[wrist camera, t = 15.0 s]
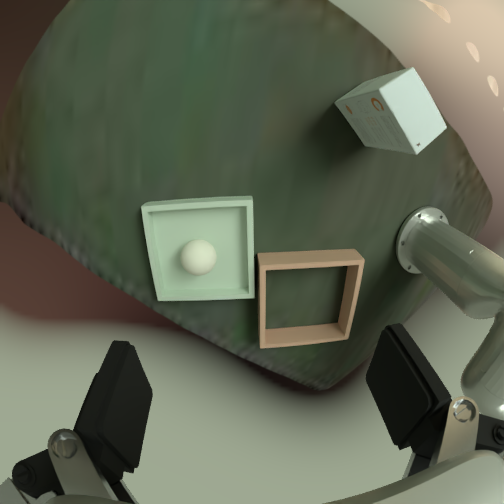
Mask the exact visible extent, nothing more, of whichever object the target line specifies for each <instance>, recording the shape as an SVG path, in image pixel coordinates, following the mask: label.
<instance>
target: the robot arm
mask: <svg viewBox="0 0 504 504" xmlns="http://www.w3.org/2000/svg"><path fill="white" fill-rule="evenodd" d="M396 256H397V259H398V261H399V263H400V265H401V266H402V267H403V268H404V269H405V270H406V271H408V272H410V273H415V274H418V273H422V274H424V275H425V276H426V277H427V278H428V279H429V280H430V281H431V282H432V283H433V284H434V285H436V286H437V287H438V288H439V289H440V290H441V291H442V292H443V293H444V294H445V295H446V296H447V297H448V298H449V299H450V300H451V301H452V302H453V303H454V304H455V305H456V306H457V307H459V308H460V310H461V311H462V312H463V313H464V314H466V315H467V316H469V317H471V318H474V319H487V318H492V317H495V320H494V323H493V325H492V327H491V329H490V330H489V333H488V334H487V336H486V338H485V339H484V341H483V342H482V344H481V345H480V347H479V348H478V350H477V351H476V353H475V354H474V356H473V357H472V359H471V360H470V361H469V363H468V364H467V366H466V368H465V369H464V371H463V373H462V376H461V388H462V391H463V393H464V395H465V396H460V397H457V398H455V399H454V400H453V401H452V399H451V395H450V394H449V392H448V390H447V389H446V387H445V386H444V384H443V383H442V381H441V380H440V378H439V376H438V375H437V373H436V372H435V371H434V369H433V368H432V366H431V365H430V363H429V362H428V360H427V359H426V357H425V356H424V355H423V353H422V352H421V350H420V349H419V347H418V346H417V345H416V343H415V342H414V340H413V339H412V338H411V336H410V335H409V333H408V332H407V331H406V329H405V328H404V327H403V325H402V324H400V323H398V324H393V325H388V326H386V327H385V329H384V330H383V331H382V332H381V335H380V338H379V341H378V344H377V347H376V350H375V352H374V356H373V358H372V361H371V363H370V366H369V369H368V371H367V374H366V382H367V384H368V386H369V388H370V391H371V393H372V395H373V397H374V400H375V402H376V404H377V406H378V409H379V411H380V413H381V415H382V418H383V420H384V422H385V425H386V427H387V429H388V432H389V434H390V436H391V439H392V441H393V443H394V445H398V448H399V450H401V449H404V448H407V447H409V446H411V448H412V451H413V452H412V454H411V457H410V460H409V463H408V466H407V468H406V470H405V473H404V475H403V478H402V480H399V481H397V482H394V483H392V484H389V485H386V486H384V487H381V488H378V489H375V490H372V491H369V492H366V493H363V494H359V495H356V496H352V497H349V498H345V499H342V500H337V501H333V502H328V503H325V504H504V259H503V258H501V257H500V256H498V255H497V254H495V253H494V252H492V251H490V250H489V249H487V248H486V247H484V246H483V245H481V244H480V243H478V242H476V241H475V240H473V239H472V238H470V237H468V236H467V235H465V234H463V233H462V232H460V231H458V230H457V229H455V228H453V227H451V226H450V225H449V224H448V221H447V218H446V216H445V215H444V214H443V213H442V212H441V211H440V210H438V209H436V208H434V207H429V206H426V207H422V208H419V209H417V210H416V211H414V212H413V213H412V214H411V215H410V216H409V217H408V218H407V219H406V220H405V222H404V223H403V225H402V227H401V229H400V231H399V234H398V237H397V241H396ZM152 395H153V394H152V388H151V386H150V384H149V382H148V379H147V377H146V375H145V372H144V370H143V368H142V365H141V363H140V360H139V358H138V355H137V353H136V350H135V347H134V346H133V345H130V343H129V342H128V341H115V340H114V341H113V342H112V344H111V346H110V348H109V350H108V353H107V354H106V357H105V359H104V361H103V363H102V366H101V368H100V370H99V372H98V373H96V375H95V376H94V379H93V381H92V383H91V385H90V388H89V390H88V393H87V395H86V398H85V400H84V403H83V405H82V408H81V410H80V413H79V416H78V418H77V421H76V423H75V426H74V429H73V430H70V429H59V430H57V431H55V432H54V433H53V434H52V435H51V436H50V438H49V440H48V449H46V450H44V451H42V452H40V453H37V454H35V455H33V456H31V457H28V458H26V459H24V460H21V461H19V462H18V463H16V465H15V466H14V468H13V471H12V479H10V478H8V479H7V480H5V481H4V482H3V483H2V484H1V485H0V504H139V503H138V502H137V501H136V499H135V498H134V496H133V495H132V494H131V492H130V491H129V489H128V488H127V486H126V485H125V483H124V482H123V480H122V477H123V472H124V471H125V472H129V473H134V468H137V467H138V466H139V461H140V455H141V450H142V444H143V439H144V434H145V429H146V424H147V419H148V415H149V410H150V405H151V401H152ZM479 412H480V413H481V414H479Z"/></svg>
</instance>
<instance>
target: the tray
mask: <svg viewBox="0 0 504 504" xmlns="http://www.w3.org/2000/svg"><path fill="white" fill-rule="evenodd" d="M141 209H142V217H143V223H144V230H145V236H146V242H147V248H148V254H149V259H150V264H151V270H152V275H153V279H154V284H155V289H156V293H157V298H158V301H189V300H223V299H247V298H255V294H254V238H253V199H252V196H230V197H210V198H194V199H179V200H166V201H154V202H146V203H145V204H144V205H143V206H141ZM195 239H202V240H205V241H207V242H209V243H210V244H211V245H212V246H213V247H214V249H215V251H216V256H217V259H216V264H215V266H214V268H213V269H212V270H211V271H210V272H209V273H207V274H205V275H201V276H196V275H192V274H190V273H188V272H187V271H186V270H185V269H184V268H183V266H182V264H181V259H180V256H181V251H182V249H183V247H184V246H185V245H186V244H187V243H188V242H190V241H192V240H195Z"/></svg>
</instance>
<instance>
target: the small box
mask: <svg viewBox="0 0 504 504" xmlns="http://www.w3.org/2000/svg"><path fill="white" fill-rule="evenodd" d="M334 103H335V105H336V106H337V107H338V109H339V110H340V111H341V113H342V114H343V115H344V117H345V118H346V119H347V121H348V122H349V124H350V125H351V127H352V128H353V129H354V131H355V132H356V134H357V135H358V137H359V138H360V140H361V141H362V143H363V144H364V146H366V147H374V148H381V149H387V150H394V151H400V152H405V153H411V154H416V155H417V154H418V153H419V152H420V151H421V150H422V149H423V148H425V147H426V146H427V145H428V144H429V143H430V142H432V141H433V140H434V139H435V138H436V137H437V136H438V135H439V134H440V133H442V132H443V131H444V130H445V129H446V128H447V126H446V124H445V122H444V120H443V118H442V116H441V114H440V112H439V110H438V108H437V106H436V105H435V103H434V101H433V99H432V97H431V95H430V94H429V92H428V90H427V88H426V87H425V85H424V83H423V82H422V80H421V78H420V77H419V75H418V73H417V72H416V70H415V69H414V67H411V68H407V69H404V70H400V71H397V72H393V73H390V74H387V75H384V76H381V77H378V78H374V79H372V80H369V81H366V82H363V83H362V84H360V85H359V86H357V87H356V88H354V89H353V90H351V91H350V92H348V93H347V94H345V95H344V96H343V97H341V98H340V99H338V100H337V101H335V102H334Z"/></svg>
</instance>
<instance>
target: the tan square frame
mask: <svg viewBox="0 0 504 504" xmlns="http://www.w3.org/2000/svg"><path fill="white" fill-rule="evenodd" d="M257 258H258V335H259V343H260V348H273V347H286V346H296V345H306V344H315V343H323V342H331V341H338V340H345V339H348V337H349V333H350V329H351V325H352V321H353V317H354V312H355V308H356V303H357V298H358V293H359V288H360V283H361V278H362V273H363V267H364V261H365V259H364V258H363V257H362V256H361V255H360V254H359V253H358V252H357V251H356V250H355V249H340V250H317V251H294V252H272V253H257ZM332 266H348V268H347V274H346V281H345V287H344V293H343V298H342V304H341V309H340V314H339V319H338V323H330V324H321V325H312V326H301V327H290V328H277V329H265V301H266V270H279V269H298V268H316V267H332Z"/></svg>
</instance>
